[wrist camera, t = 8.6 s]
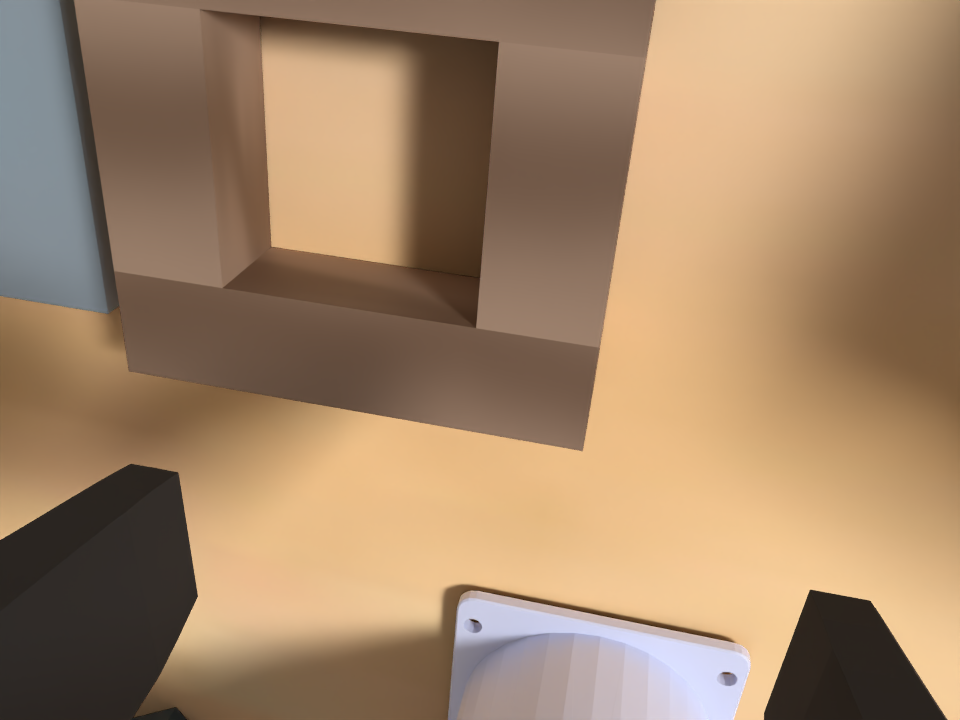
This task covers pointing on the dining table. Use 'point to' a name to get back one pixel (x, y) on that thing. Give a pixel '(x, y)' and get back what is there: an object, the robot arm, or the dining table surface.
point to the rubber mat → (49, 164)
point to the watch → (163, 715)
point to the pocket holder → (354, 283)
